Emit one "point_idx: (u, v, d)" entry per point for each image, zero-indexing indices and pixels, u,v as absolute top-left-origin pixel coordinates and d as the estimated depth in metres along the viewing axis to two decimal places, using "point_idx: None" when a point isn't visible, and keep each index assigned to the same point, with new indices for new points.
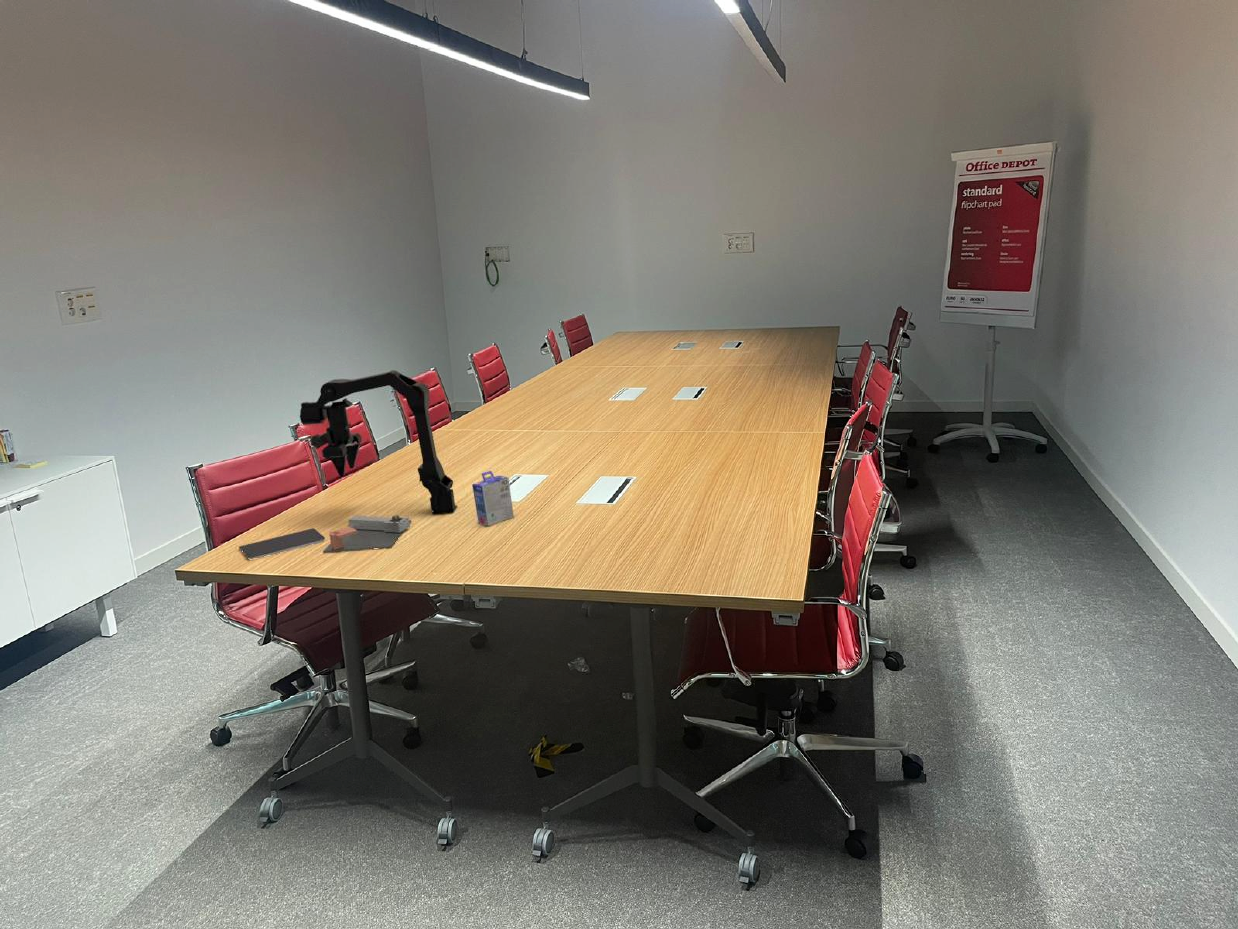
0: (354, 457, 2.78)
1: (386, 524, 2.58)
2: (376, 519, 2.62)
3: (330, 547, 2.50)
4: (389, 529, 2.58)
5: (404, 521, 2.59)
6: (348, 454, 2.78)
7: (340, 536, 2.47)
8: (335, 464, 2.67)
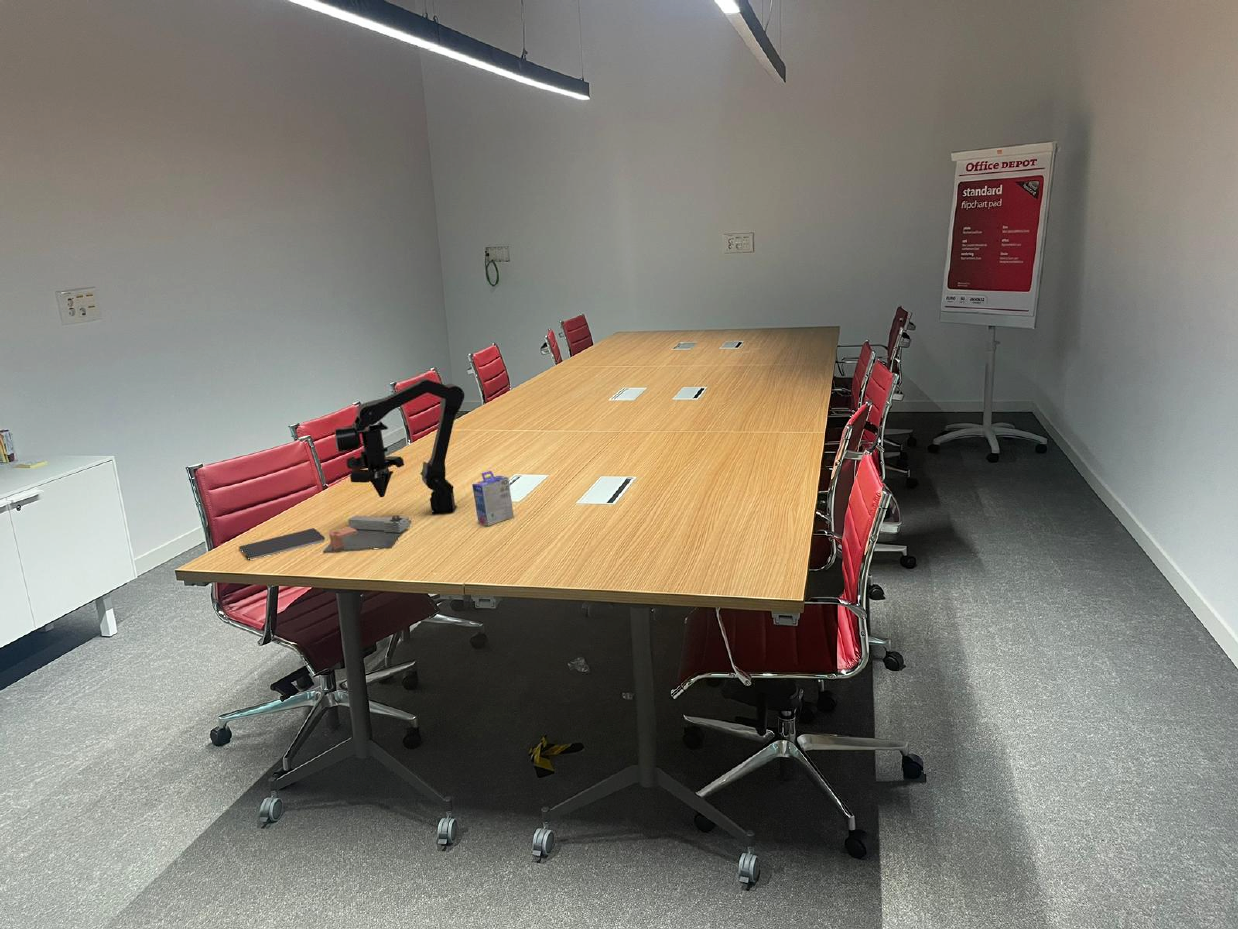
0: None
1: (386, 524, 2.58)
2: (376, 519, 2.62)
3: (330, 547, 2.50)
4: (389, 529, 2.58)
5: (404, 521, 2.59)
6: None
7: (340, 536, 2.47)
8: (374, 484, 2.66)
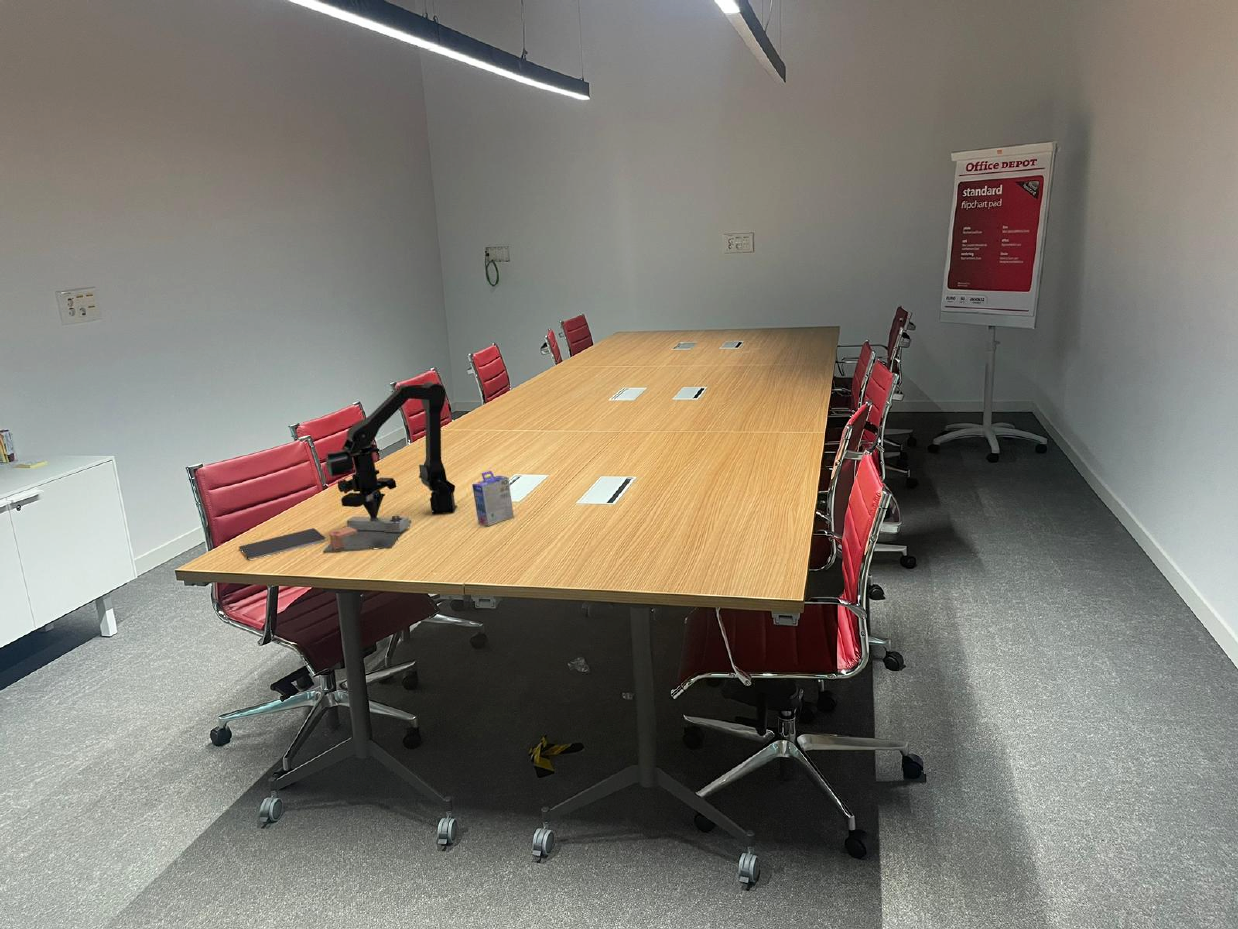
0: None
1: (386, 524, 2.58)
2: (375, 519, 2.62)
3: (330, 547, 2.50)
4: (389, 529, 2.58)
5: (404, 521, 2.60)
6: None
7: (340, 536, 2.47)
8: (366, 507, 2.63)
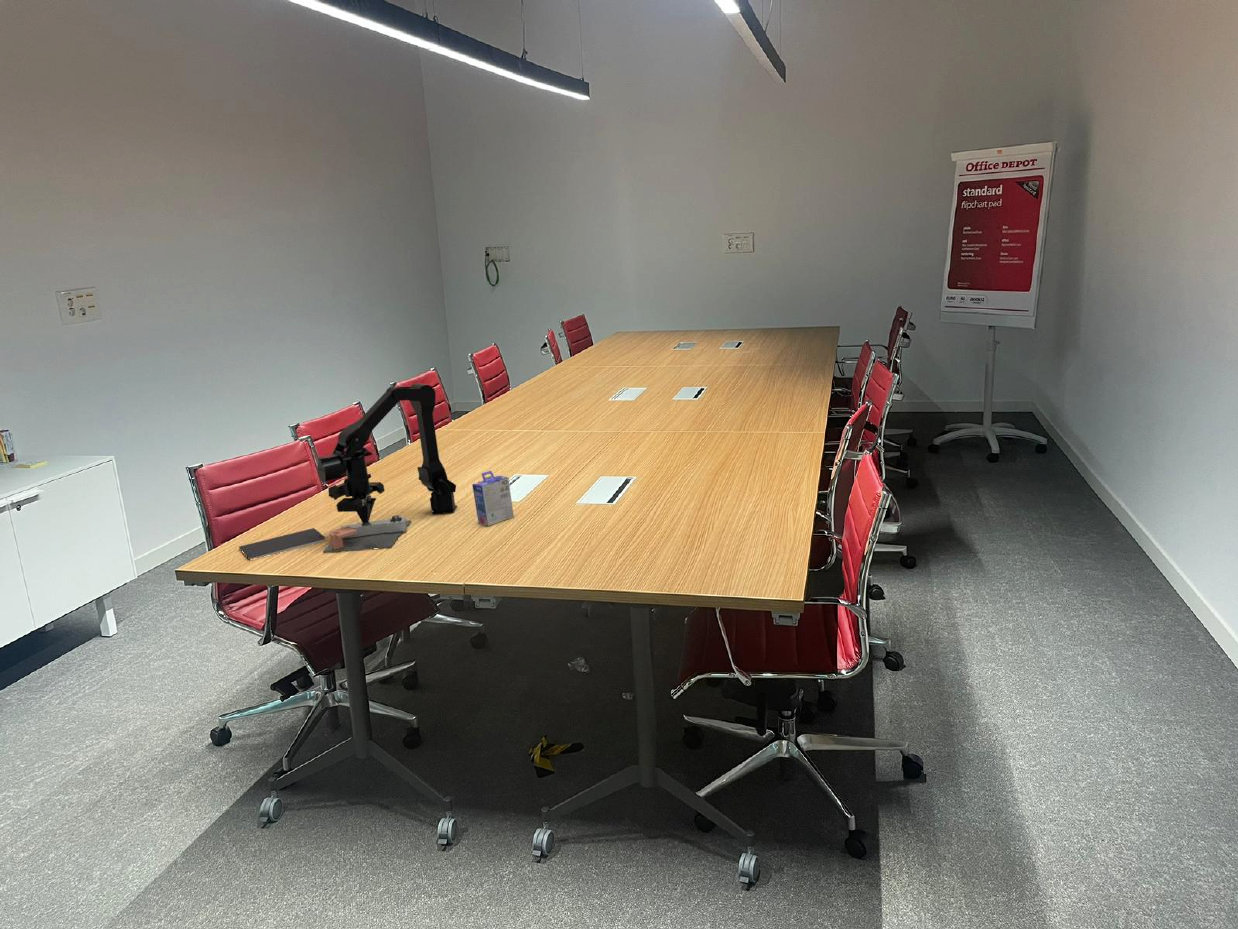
0: None
1: (390, 525, 2.57)
2: (371, 523, 2.59)
3: (330, 547, 2.50)
4: (394, 529, 2.58)
5: (405, 519, 2.61)
6: None
7: (340, 536, 2.47)
8: (358, 512, 2.59)
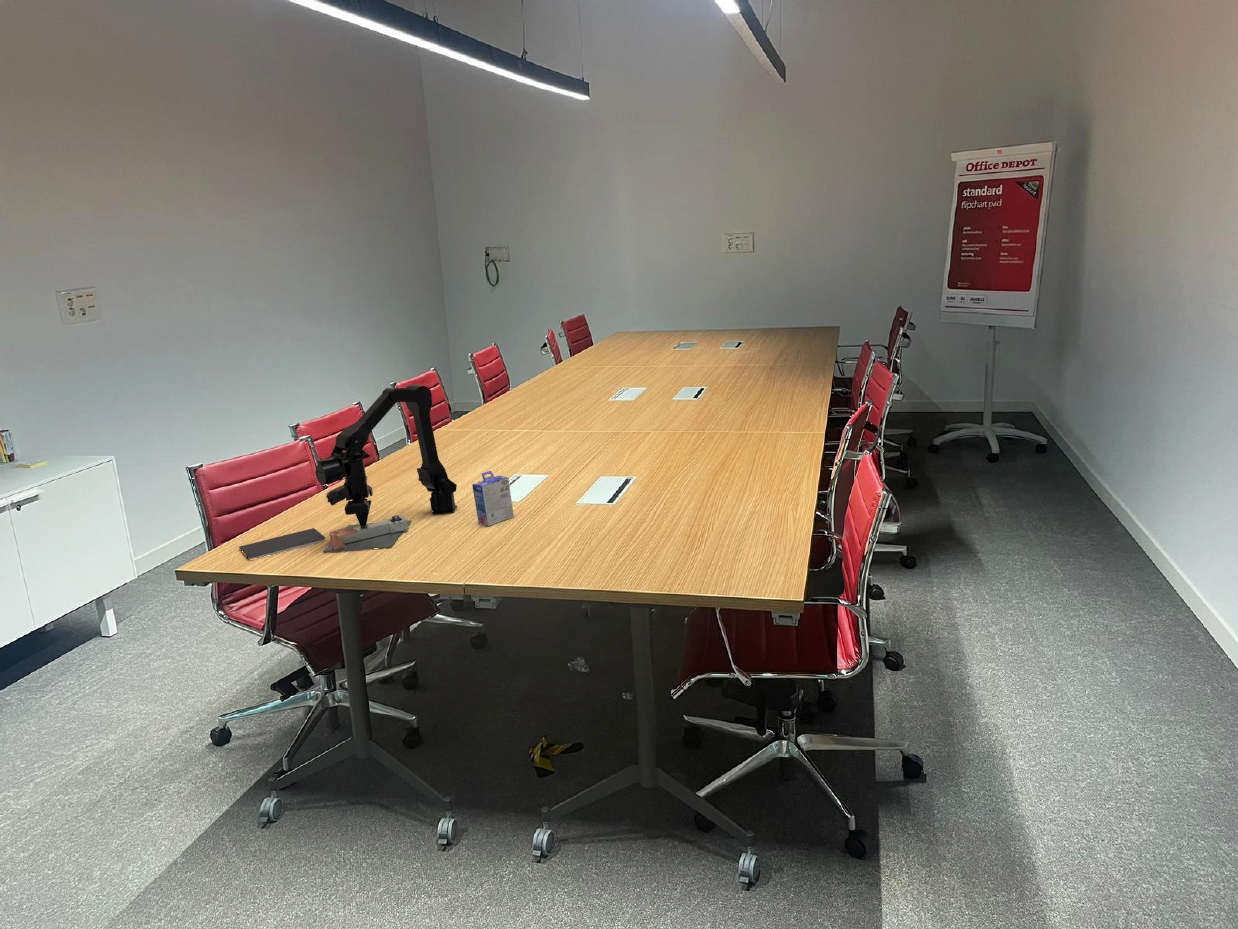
0: None
1: (393, 525, 2.57)
2: (372, 525, 2.57)
3: (330, 547, 2.50)
4: (397, 529, 2.58)
5: None
6: None
7: (340, 536, 2.47)
8: (357, 515, 2.56)
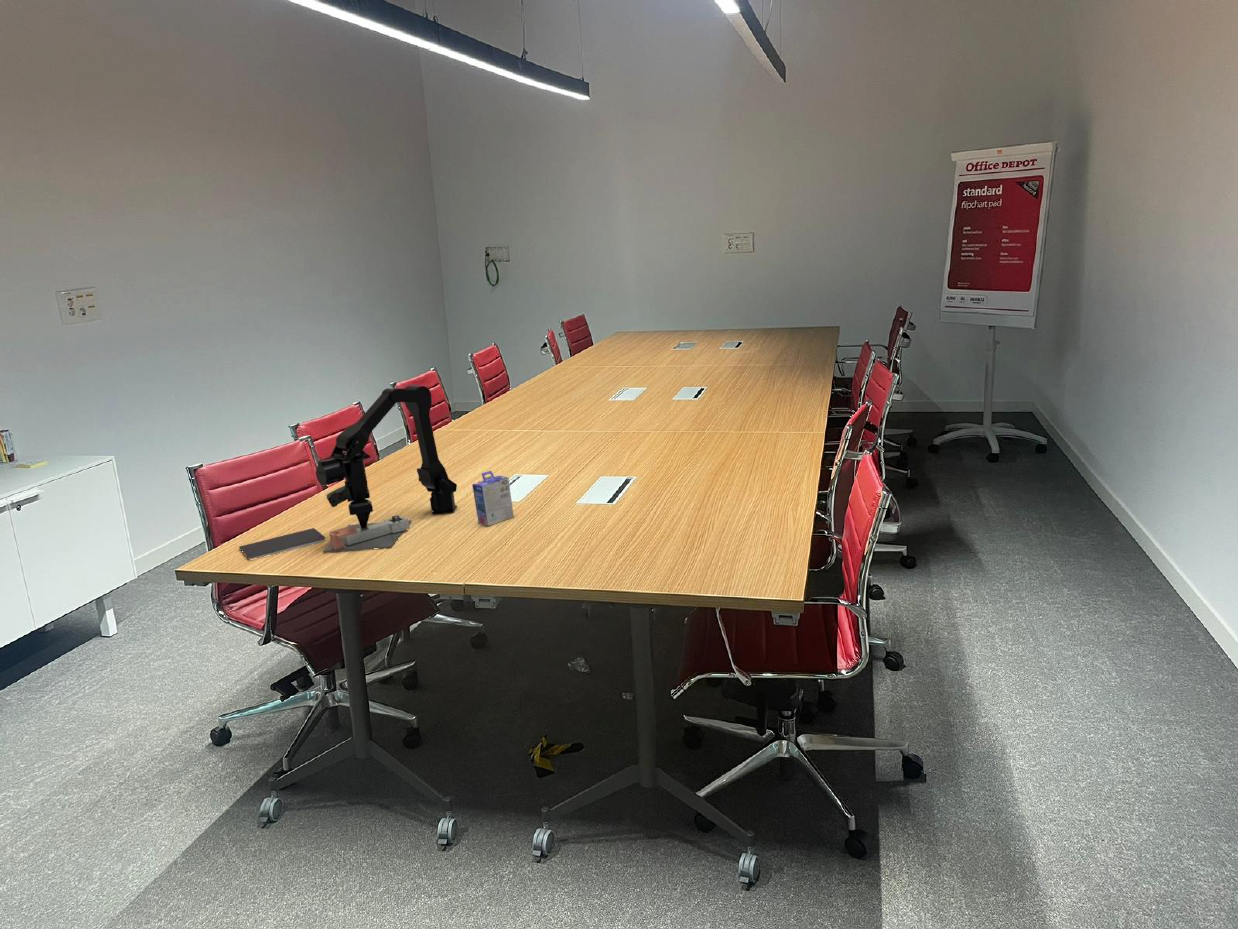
0: None
1: (395, 524, 2.57)
2: (373, 526, 2.56)
3: (330, 547, 2.50)
4: (398, 529, 2.58)
5: None
6: None
7: (340, 536, 2.47)
8: (358, 516, 2.54)
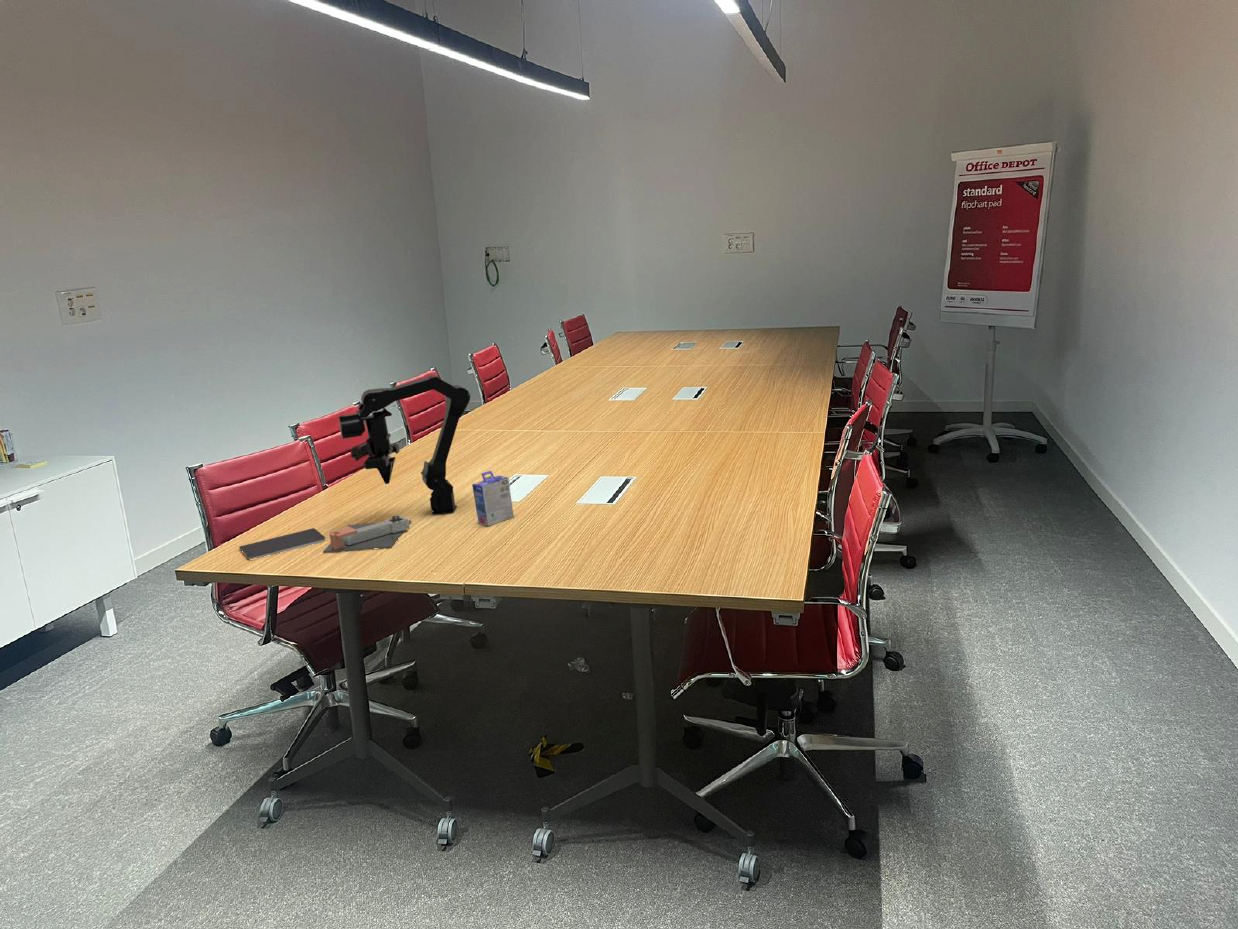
0: None
1: (395, 524, 2.57)
2: (373, 526, 2.56)
3: (330, 547, 2.50)
4: (398, 529, 2.58)
5: None
6: None
7: (340, 536, 2.47)
8: (380, 471, 2.66)
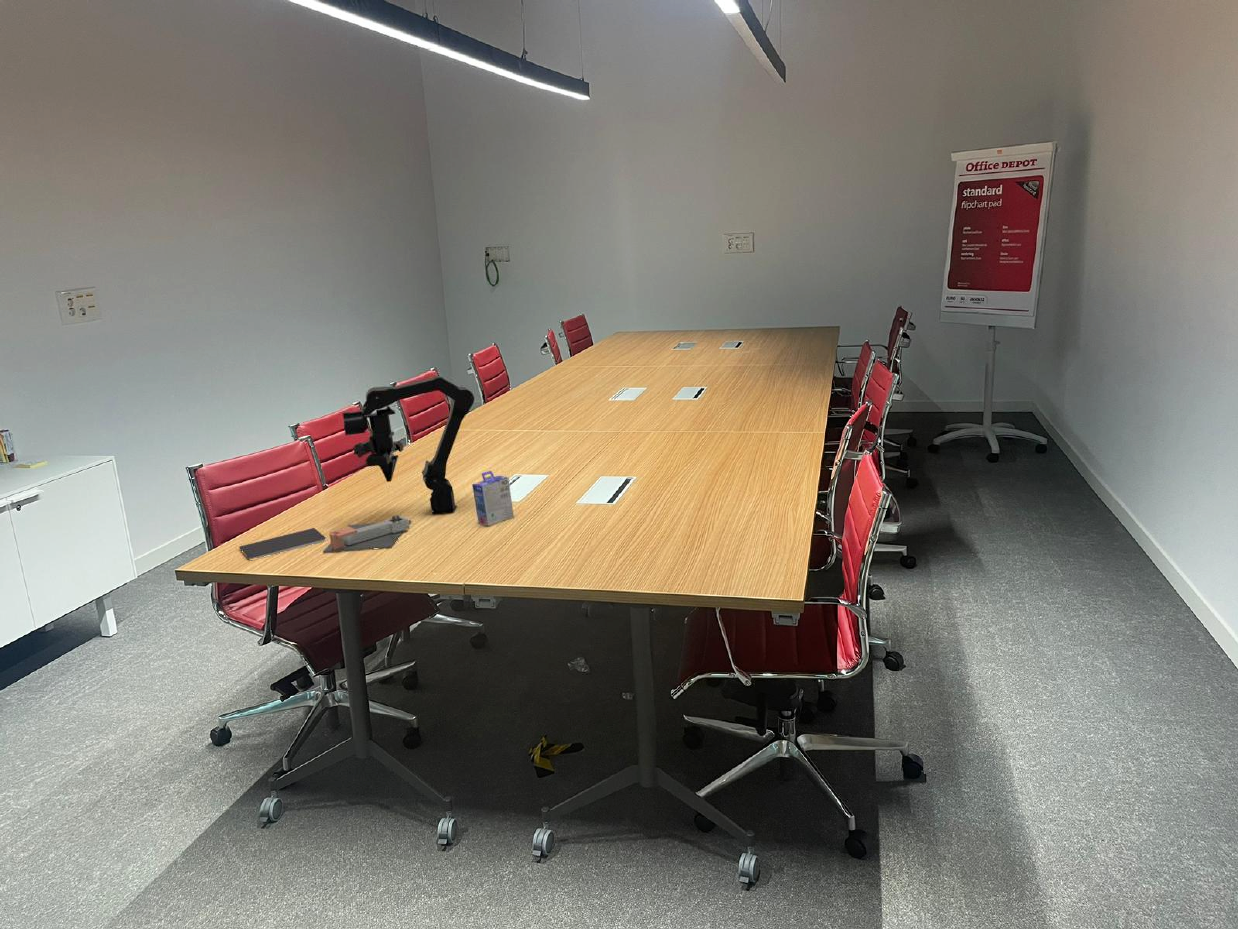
0: None
1: (395, 524, 2.57)
2: (373, 526, 2.56)
3: (330, 547, 2.50)
4: (398, 529, 2.58)
5: None
6: None
7: (340, 536, 2.47)
8: (382, 469, 2.67)
